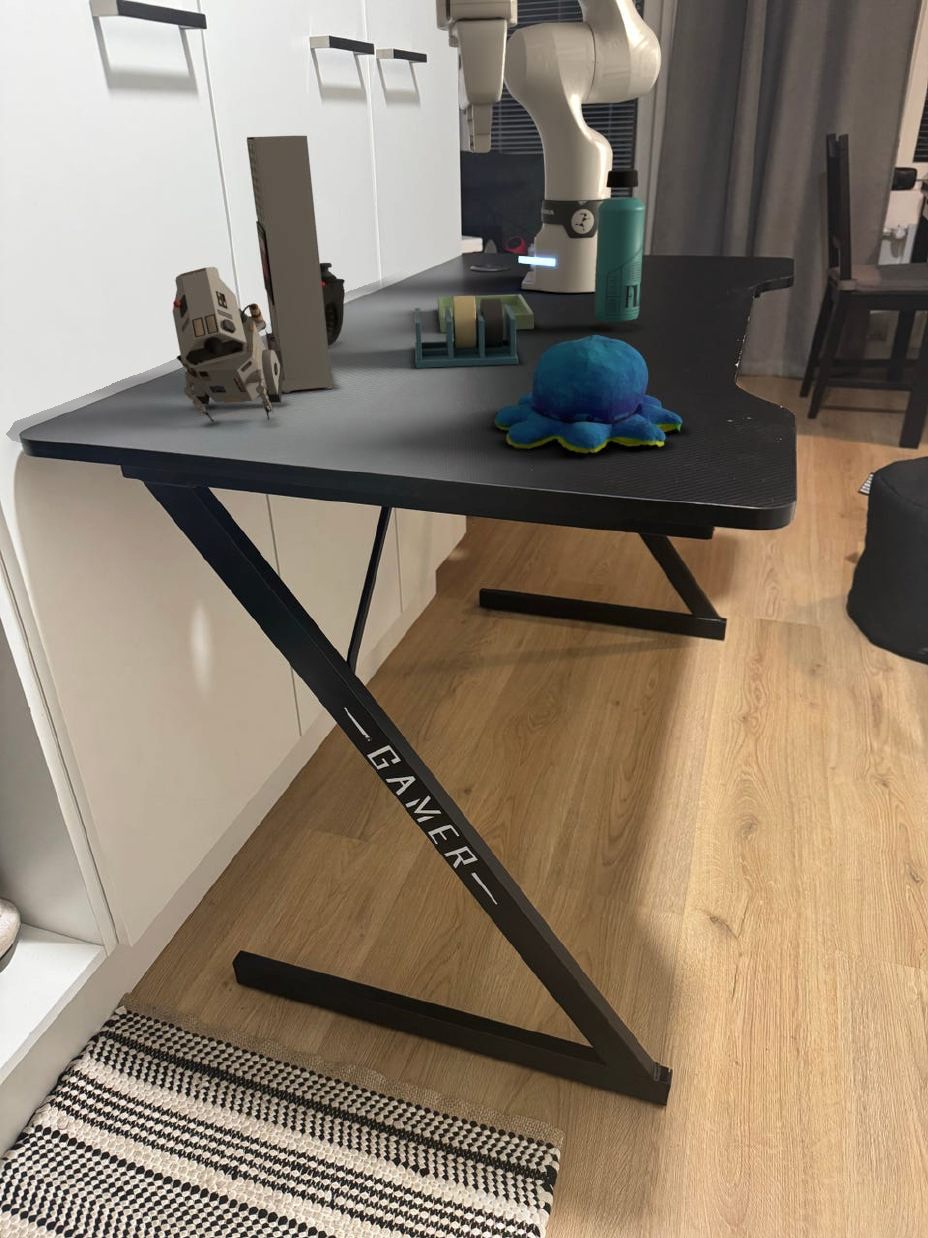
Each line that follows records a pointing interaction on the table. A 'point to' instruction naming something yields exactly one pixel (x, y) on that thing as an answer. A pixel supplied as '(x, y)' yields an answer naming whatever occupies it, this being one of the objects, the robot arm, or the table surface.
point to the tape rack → (479, 356)
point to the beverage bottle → (619, 251)
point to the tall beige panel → (290, 259)
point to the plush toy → (588, 400)
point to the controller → (332, 302)
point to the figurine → (222, 344)
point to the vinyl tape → (492, 321)
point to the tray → (513, 301)
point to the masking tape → (464, 322)
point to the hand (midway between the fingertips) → (479, 152)
